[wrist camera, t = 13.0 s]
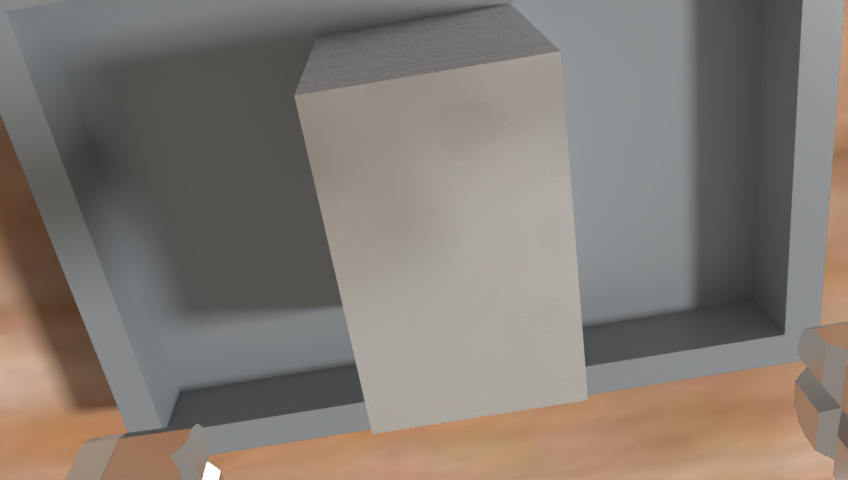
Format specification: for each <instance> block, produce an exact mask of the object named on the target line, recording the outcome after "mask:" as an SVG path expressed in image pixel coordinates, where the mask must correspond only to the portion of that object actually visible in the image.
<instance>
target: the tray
mask: <svg viewBox="0 0 848 480" xmlns="http://www.w3.org/2000/svg"><path fill="white" fill-rule="evenodd" d="M505 4H512V5H513V6H514V7H515V8H516V9H517V10H518V11H519V12H520V13H521V14H522V15H523V16H524V17H525V18H526V19H527V20H529V21H530V22H531V23H532V24H533V25H534V26H535V27H536V28H537V29H538V30H539V31H540V32H541V33H542V34H543V35H544V36H545V37H546V38H547V39H548V40H550V41H551V42H552V43H553V44H554V45H555V46H556V47H557V48H558V49H559V50H560V51H561V60H562V73H563V86H564V99H565V111H566V124H567V137H568V150H569V163H570V176H571V188H572V201H573V214H574V227H575V240H576V253H577V265H578V278H579V291H580V304H581V317H582V330H583V342H584V355H585V368H586V381H587V394H588V395H590V394H596V393H603V392H609V391H615V390H621V389H628V388H634V387H640V386H647V385H653V384H659V383H666V382H672V381H678V380H684V379H691V378H697V377H703V376H710V375H716V374H722V373H728V372H735V371H741V370H747V369H754V368H760V367H766V366H772V365H779V364H785V363H791V362H798V361H802V360H801V358H800V357H799V356H798V355H797V353H798V342H799V337H800V335H801V333H802V331H803V329H805V328H812V327H818V326H820V319H821V306H822V293H823V280H824V267H825V253H826V240H827V227H828V214H829V201H830V188H831V175H832V162H833V148H834V135H835V122H836V109H837V96H838V83H839V70H840V57H841V43H842V30H843V17H844V4H845V0H0V115H1V118H2V120H3V123H4V125H5V127H6V130H7V132H8V135H9V137H10V140H11V142H12V145H13V147H14V150H15V152H16V155H17V157H18V160H19V162H20V165H21V167H22V170H23V172H24V175H25V177H26V180H27V182H28V185H29V187H30V190H31V192H32V195H33V197H34V200H35V202H36V205H37V207H38V210H39V212H40V215H41V217H42V220H43V222H44V225H45V227H46V230H47V232H48V235H49V237H50V240H51V242H52V245H53V247H54V250H55V252H56V254H57V257H58V259H59V262H60V264H61V267H62V269H63V272H64V274H65V277H66V279H67V282H68V284H69V287H70V289H71V292H72V294H73V297H74V299H75V302H76V304H77V307H78V309H79V312H80V314H81V317H82V319H83V322H84V324H85V327H86V329H87V332H88V334H89V337H90V339H91V342H92V344H93V347H94V349H95V352H96V354H97V357H98V359H99V362H100V364H101V367H102V369H103V372H104V374H105V377H106V379H107V381H108V384H109V386H110V389H111V391H112V394H113V396H114V399H115V401H116V404H117V406H118V409H119V411H120V414H121V416H122V419H123V421H124V424H125V426H126V429H127V431H128V433H129V432H137V431H144V430H152V429H159V428H167V427H174V426H182V425H189V424H196V423H197V424H199V425H201V426H202V427H204V429H205V432H206V434H207V436H208V439H209V441H210V444H211V449H210V453H209V455H213V454H219V453H225V452H232V451H238V450H244V449H250V448H257V447H263V446H269V445H276V444H282V443H288V442H294V441H301V440H307V439H313V438H320V437H326V436H332V435H339V434H345V433H351V432H357V431H364V430H370V429H371V426H370V422H369V418H368V413H367V409H366V405H365V400H364V396H363V392H362V387H361V383H360V379H359V374H358V370H357V366H356V361H355V357H354V353H353V348H352V344H351V340H350V335H349V331H348V327H347V322H346V318H345V314H344V309H343V305H342V300H341V296H340V292H339V287H338V283H337V279H336V274H335V270H334V266H333V261H332V257H331V253H330V248H329V244H328V240H327V235H326V231H325V227H324V222H323V218H322V214H321V209H320V205H319V201H318V196H317V192H316V188H315V183H314V179H313V175H312V170H311V166H310V162H309V157H308V153H307V149H306V144H305V140H304V136H303V131H302V127H301V123H300V118H299V114H298V110H297V105H296V101H295V97H294V95H295V92H296V90H297V87H298V85H299V82H300V80H301V77H302V74H303V72H304V69H305V67H306V64H307V62H308V59H309V56H310V54H311V51H312V49H313V46H314V43H315V41H316V38H317V36H320V35H326V34H332V33H338V32H344V31H350V30H356V29H362V28H368V27H374V26H380V25H386V24H392V23H398V22H404V21H410V20H416V19H422V18H428V17H434V16H440V15H446V14H452V13H458V12H463V11H469V10H475V9H481V8H487V7H493V6H499V5H505Z"/></svg>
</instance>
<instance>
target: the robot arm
mask: <svg viewBox="0 0 848 480" xmlns="http://www.w3.org/2000/svg"><path fill="white" fill-rule="evenodd" d="M797 355H798V356H799V357H800V358H801V360H802V361H803V362H804V363H805V365H806V366H807V368H806V369H805V370H804V371H803V372H802V374H801V375H800V376H799V377H798V379H797V380H796V381H795V398H794V402H795V407H796V411H797V416H798V420H799V423H800V425H801V427H802V430H803V432H804V434H805V436H806V438H807V439H808V440H809V442H810V443H811V445H812V446H813V448H814V449H815V450H816V451H818V452H820V453H822V454H824V455H826V456H828V457H830V458H832V459H834V460H835V462H834V472H833V475H834V477H835V478H836V479H837V480H848V322H843V323H836V324H830V325H824V326H818V327H812V328H805V329H803V331H802V333H801V335H800V337H799V342H798V353H797ZM210 449H211V444H210V441H209V439H208V436H207V434H206V432H205V429H204V427H202V426H201V425H199V424H197V423H196V424H189V425H182V426H174V427H167V428H159V429H152V430H144V431H137V432H129V433H126V434H117V435H110V436H104V437H97V438H91V439H90V440H88V441H87V442H85V443H84V444H83V445H82V446H81V448H80V450H79V452H78V454H77V456H76V458H75V460H74V462H73V464H72V466H71V468H70V470H69V472H68V474H67V476H66V478H65V480H224V479H223V476H222V474H221V471H220V470H219V469H217V468H216V467H214V466H213V465H211V464H210V463H209V462H207V461H208V457H209V453H210Z"/></svg>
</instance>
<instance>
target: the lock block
mask: <svg viewBox="0 0 848 480" xmlns="http://www.w3.org/2000/svg"><path fill="white" fill-rule="evenodd" d="M294 97H295V101H296V105H297V110H298V114H299V118H300V123H301V127H302V131H303V136H304V140H305V144H306V149H307V153H308V157H309V162H310V166H311V170H312V175H313V179H314V183H315V188H316V192H317V196H318V201H319V205H320V209H321V214H322V218H323V222H324V227H325V231H326V235H327V240H328V244H329V248H330V253H331V257H332V261H333V266H334V270H335V274H336V279H337V283H338V287H339V292H340V296H341V300H342V305H343V309H344V314H345V318H346V322H347V327H348V331H349V335H350V340H351V344H352V348H353V353H354V357H355V361H356V366H357V370H358V374H359V379H360V383H361V387H362V392H363V396H364V400H365V405H366V409H367V413H368V418H369V422H370V426H371V431H372V434H376V433H382V432H388V431H394V430H401V429H407V428H413V427H420V426H426V425H432V424H439V423H445V422H451V421H457V420H464V419H470V418H476V417H483V416H489V415H495V414H502V413H508V412H514V411H521V410H527V409H533V408H539V407H546V406H552V405H558V404H565V403H571V402H577V401H584V400H588V394H587V381H586V368H585V355H584V342H583V330H582V317H581V304H580V291H579V278H578V265H577V253H576V240H575V227H574V214H573V201H572V188H571V176H570V163H569V150H568V137H567V124H566V111H565V99H564V86H563V73H562V60H561V51H560V50H559V49H558V48H557V47H556V46H555V45H554V44H553V43H552V42H551V41H550V40H548V39H547V38H546V37H545V36H544V35H543V34H542V33H541V32H540V31H539V30H538V29H537V28H536V27H535V26H534V25H533V24H532V23H531V22H530V21H529V20H527V19H526V18H525V17H524V16H523V15H522V14H521V13H520V12H519V11H518V10H517V9H516V8H515V7H514V6H513V5H512V4H505V5H499V6H493V7H487V8H481V9H475V10H469V11H463V12H458V13H452V14H446V15H440V16H434V17H428V18H422V19H416V20H410V21H404V22H398V23H392V24H386V25H380V26H374V27H368V28H362V29H356V30H350V31H344V32H338V33H332V34H326V35H320V36H317V38H316V41H315V43H314V46H313V49H312V51H311V54H310V56H309V59H308V62H307V64H306V67H305V69H304V72H303V74H302V77H301V80H300V82H299V85H298V87H297V90H296V92H295V95H294Z"/></svg>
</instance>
